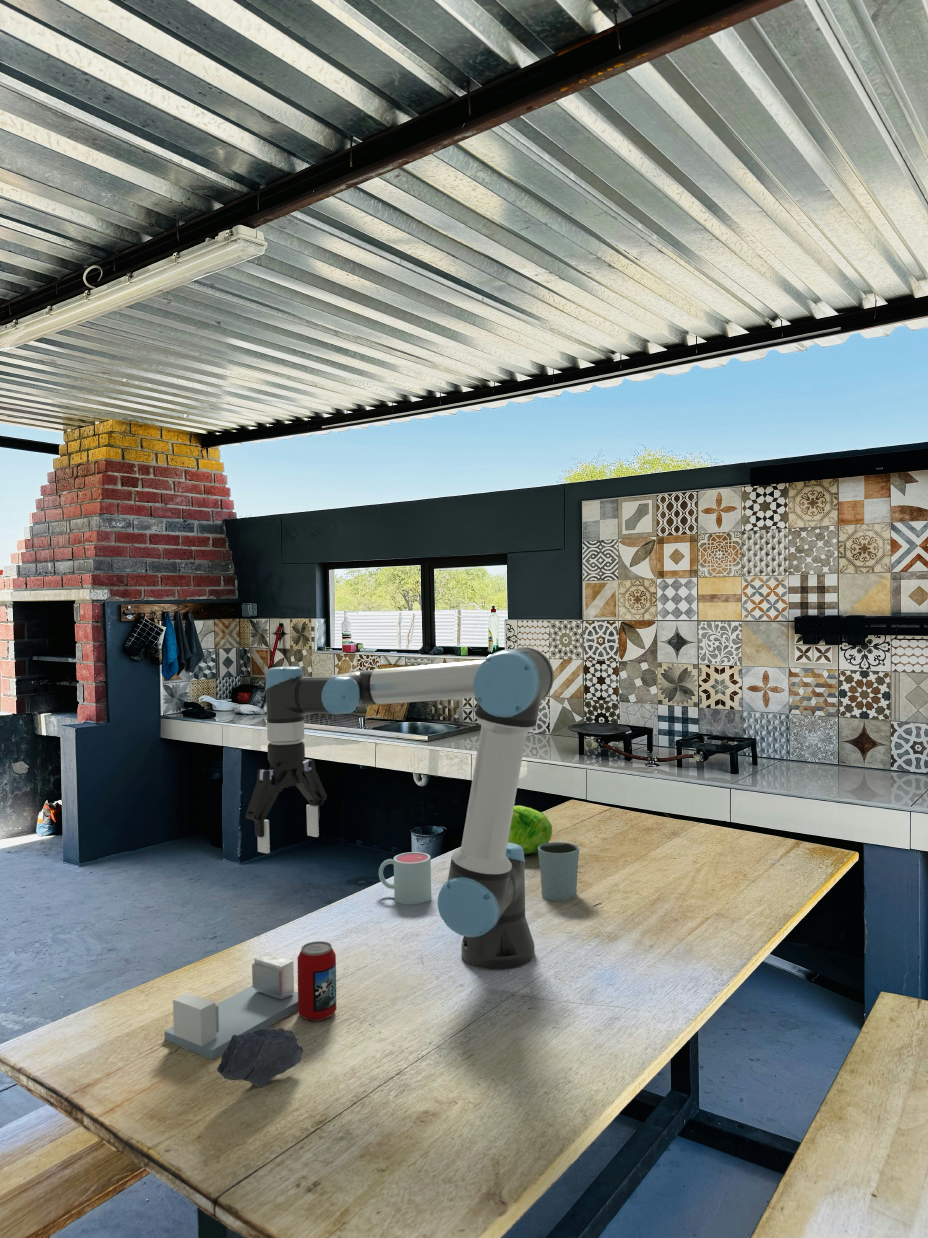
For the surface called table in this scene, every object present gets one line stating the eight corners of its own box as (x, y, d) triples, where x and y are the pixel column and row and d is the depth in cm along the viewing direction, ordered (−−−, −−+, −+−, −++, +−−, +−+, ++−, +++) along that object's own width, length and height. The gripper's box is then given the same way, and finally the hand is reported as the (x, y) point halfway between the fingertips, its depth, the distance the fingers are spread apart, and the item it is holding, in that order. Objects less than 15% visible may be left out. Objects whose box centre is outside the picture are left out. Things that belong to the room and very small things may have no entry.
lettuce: (501, 842, 256) (513, 798, 257) (556, 864, 243) (567, 818, 244) (473, 841, 244) (484, 795, 246) (528, 864, 232) (540, 816, 233)
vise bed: (308, 1004, 154) (307, 963, 153) (212, 1060, 135) (211, 1013, 135) (262, 988, 160) (261, 949, 160) (164, 1040, 142) (163, 996, 142)
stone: (280, 1060, 135) (279, 998, 134) (309, 1069, 132) (308, 1006, 132) (215, 1106, 123) (213, 1038, 122) (246, 1117, 120) (244, 1048, 119)
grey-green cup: (533, 900, 205) (532, 851, 205) (545, 886, 214) (544, 840, 214) (574, 904, 201) (573, 855, 201) (584, 891, 210) (583, 843, 210)
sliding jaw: (294, 993, 154) (293, 960, 154) (279, 1001, 151) (278, 968, 151) (267, 984, 158) (266, 952, 158) (252, 992, 155) (251, 959, 155)
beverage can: (328, 1025, 145) (327, 956, 145) (291, 1021, 147) (291, 953, 147) (342, 1007, 152) (341, 941, 152) (307, 1004, 154) (306, 938, 153)
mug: (436, 893, 211) (435, 853, 211) (423, 906, 202) (422, 864, 202) (387, 888, 216) (386, 849, 216) (371, 900, 207) (370, 860, 207)
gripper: (316, 732, 186) (319, 827, 186) (225, 749, 165) (228, 856, 165) (341, 734, 181) (344, 832, 181) (250, 752, 161) (254, 862, 161)
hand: (289, 844), depth 173 cm, fingers open, 13 cm apart
